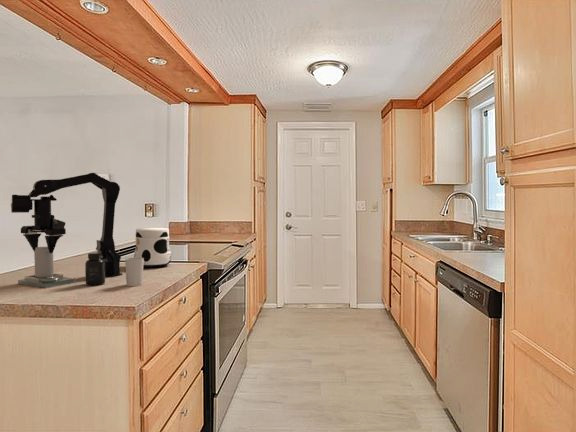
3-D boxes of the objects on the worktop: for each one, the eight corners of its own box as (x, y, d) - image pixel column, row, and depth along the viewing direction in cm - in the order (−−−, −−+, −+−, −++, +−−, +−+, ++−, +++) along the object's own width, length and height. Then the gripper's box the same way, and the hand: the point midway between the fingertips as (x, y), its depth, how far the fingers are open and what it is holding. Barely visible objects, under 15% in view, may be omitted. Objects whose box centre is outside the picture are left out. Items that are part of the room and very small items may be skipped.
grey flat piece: (74, 282, 167) (74, 274, 167) (46, 288, 156) (46, 279, 156) (47, 278, 174) (47, 271, 174) (18, 284, 163) (18, 276, 163)
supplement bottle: (109, 283, 166) (108, 252, 165) (95, 286, 159) (95, 254, 159) (94, 281, 168) (94, 251, 167) (81, 285, 161) (80, 253, 161)
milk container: (128, 265, 208) (127, 228, 207) (161, 262, 219) (161, 227, 219) (143, 270, 195) (142, 231, 194) (177, 266, 207) (177, 229, 206)
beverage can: (47, 279, 164) (47, 248, 163) (31, 279, 164) (30, 247, 163) (57, 276, 170) (56, 246, 170) (41, 276, 170) (40, 246, 170)
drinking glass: (125, 283, 165) (124, 257, 165) (143, 282, 167) (143, 257, 167) (125, 287, 159) (125, 260, 158) (144, 285, 161) (144, 259, 161)
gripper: (77, 212, 169) (78, 251, 170) (46, 211, 177) (46, 248, 178) (51, 213, 159) (52, 254, 160) (19, 212, 167) (20, 251, 168)
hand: (43, 252), depth 166 cm, fingers open, 9 cm apart
